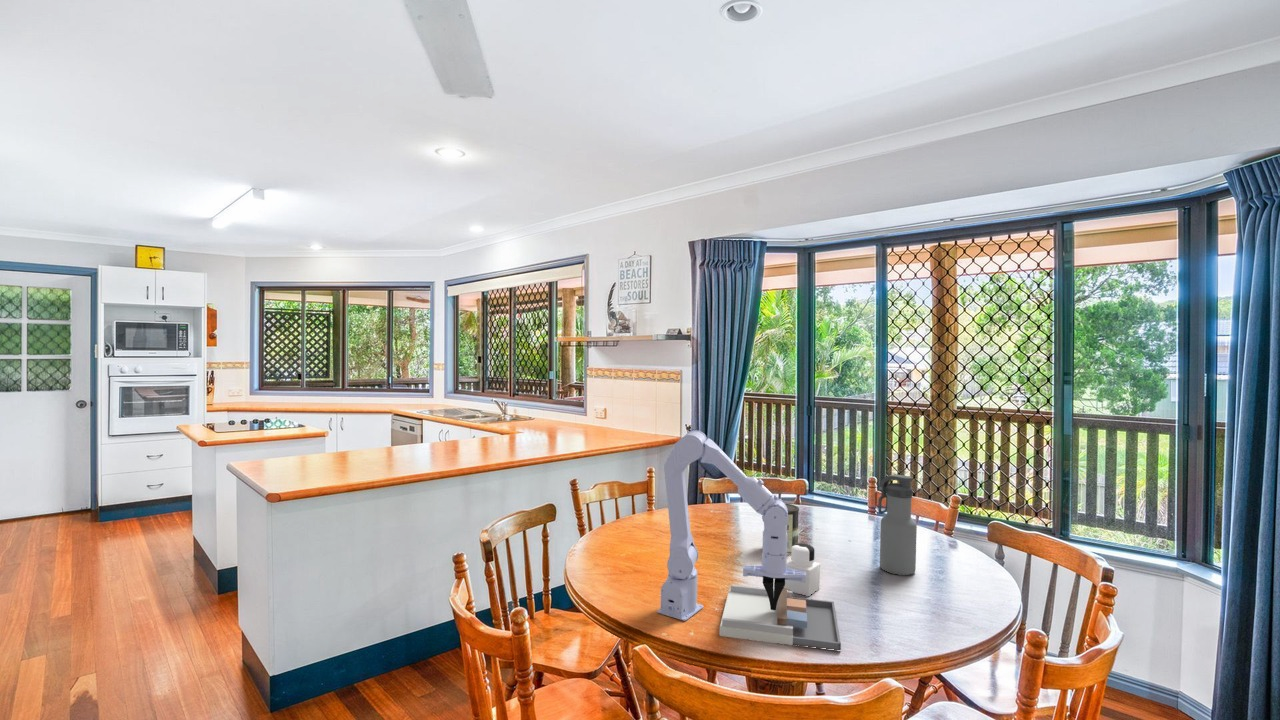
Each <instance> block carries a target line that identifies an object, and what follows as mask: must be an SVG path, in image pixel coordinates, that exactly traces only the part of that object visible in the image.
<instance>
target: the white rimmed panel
mask: <svg viewBox="0 0 1280 720" xmlns="http://www.w3.org/2000/svg"><path fill="white" fill-rule="evenodd" d="M793 594H794V592H793V591H787V598H790V599H793V597H794V596H793ZM773 595H774V588H773ZM777 616H778V602H777V606H776V610H771V608H770V602H769V598H768V595H767V592H766V589H765V587H761V586H760V587H758V586H750V585H741V584H732V583H731V584H730V588H729V589H728V594H727V597H726V600H725V604H724V610H723V612H722V617H721V620H720V625H719V636H720V637H727V638H733V639H740V640H747V639H750V640H749V641H755V640H758V641H757V642H762V641H763V642H764V643H771V644H777V643H780V644H779V645H784V644H789V645H788V646H792V645H793V626H791V625H786V626H783V625H777ZM763 642H762V643H763Z"/></svg>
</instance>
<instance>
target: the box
mask: <svg viewBox="0 0 1280 720" xmlns="http://www.w3.org/2000/svg"><path fill="white" fill-rule="evenodd" d="M793 599H799V600H806V613H807V628H803V627H797V626H793V645H797V646H796V647H799V646H808V647H816V648H826V649H834V650H842V649H841V648H842V642H841V638H840V636H841V635H840V631H839V625H838V619H837V614H836V613H837V612H836V607H835V603H834V602H835V601H832V600H831V601H828V600H821V599H813V598H803V597H795V596H793ZM798 645H799V646H798Z"/></svg>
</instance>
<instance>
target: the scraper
mask: <svg viewBox="0 0 1280 720" xmlns="http://www.w3.org/2000/svg"><path fill="white" fill-rule="evenodd" d="M777 625H783V626H786V625H787V588H783V590H782V592H781V594H780V596H779V599H778V616H777Z"/></svg>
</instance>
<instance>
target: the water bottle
mask: <svg viewBox="0 0 1280 720" xmlns="http://www.w3.org/2000/svg"><path fill="white" fill-rule="evenodd" d="M890 481H898V482H893V483H889V482H890ZM912 482H913V477H912V476H909V475H903V474H895V473H894V474H890V475H887V476H885V477H883V478H882V479H881V481H880V482H879V488H878V489H879V490H880V491H881V494H880V497H879V498H878V508H877V509H878V510H877V511H878V514H880V515H882V514H885V513H886V515H883V516H882V518H881V519H880V542H879V567H880V569H881V570H883V571H884V570H885V572H886V571H887V572H886V573H888V572H890V573H889V574H891V573H893V574H892V575H895V574H900V575H899V576H903V575H904V576H910V574H911V575H913V574H915V572H916V567H917V566H916V565H917V562H916V561H917V535H918V534H917V528H918V525H917V524H918V523H917V522H916V521H915V520H914V519H913V518H912V499H913V491H914V490H913V489H914V488H913V487H912ZM883 499H885V500H886V501H885V508H884V509H883V510H882V501H883Z"/></svg>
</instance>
